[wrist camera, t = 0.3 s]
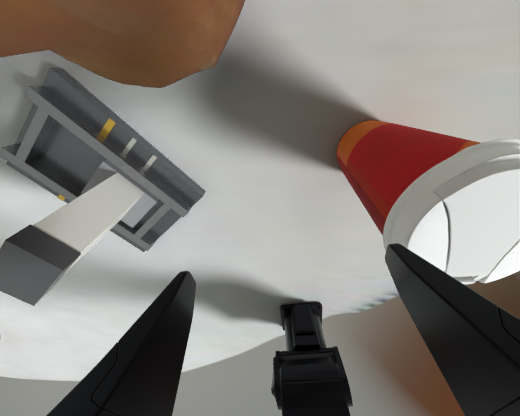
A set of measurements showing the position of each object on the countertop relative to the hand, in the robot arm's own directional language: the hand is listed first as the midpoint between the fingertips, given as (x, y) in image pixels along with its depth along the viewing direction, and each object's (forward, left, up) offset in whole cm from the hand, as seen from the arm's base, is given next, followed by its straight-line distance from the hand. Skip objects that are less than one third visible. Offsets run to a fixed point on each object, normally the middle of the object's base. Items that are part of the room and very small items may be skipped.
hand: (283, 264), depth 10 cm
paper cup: (0, -9, -15) cm, 17 cm away
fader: (-1, +16, -13) cm, 21 cm away
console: (0, +18, -15) cm, 23 cm away
